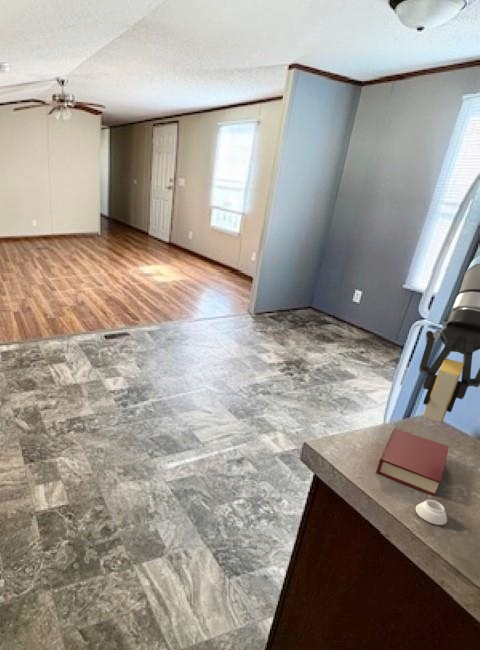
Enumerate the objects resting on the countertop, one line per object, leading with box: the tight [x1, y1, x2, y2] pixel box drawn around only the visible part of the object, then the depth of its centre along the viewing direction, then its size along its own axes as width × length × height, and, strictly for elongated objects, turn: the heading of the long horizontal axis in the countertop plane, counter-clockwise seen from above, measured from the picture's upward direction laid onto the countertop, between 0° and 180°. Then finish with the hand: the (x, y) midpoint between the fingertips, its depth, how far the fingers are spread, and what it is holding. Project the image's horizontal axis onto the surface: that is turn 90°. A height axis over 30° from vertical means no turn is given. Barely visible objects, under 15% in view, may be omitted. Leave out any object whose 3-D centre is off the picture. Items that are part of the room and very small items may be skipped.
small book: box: [422, 358, 464, 424], centre depth 94 cm, size 4×8×12 cm, turn 136°
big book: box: [375, 427, 450, 497], centre depth 98 cm, size 16×11×4 cm
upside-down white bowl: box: [415, 499, 448, 526], centre depth 84 cm, size 5×3×5 cm
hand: (437, 405), depth 93 cm, fingers closed on small book, 3 cm apart
